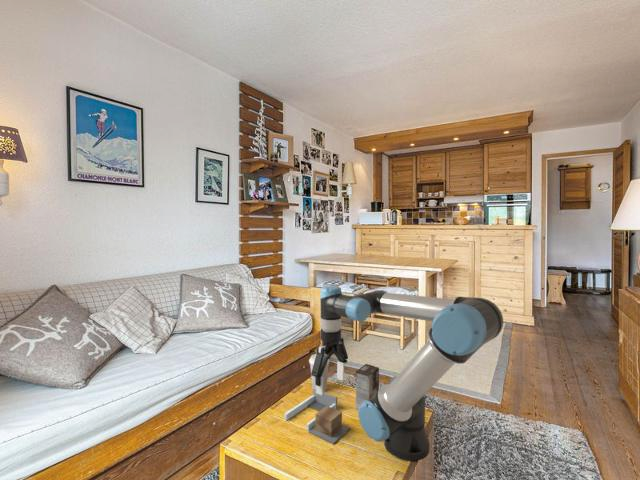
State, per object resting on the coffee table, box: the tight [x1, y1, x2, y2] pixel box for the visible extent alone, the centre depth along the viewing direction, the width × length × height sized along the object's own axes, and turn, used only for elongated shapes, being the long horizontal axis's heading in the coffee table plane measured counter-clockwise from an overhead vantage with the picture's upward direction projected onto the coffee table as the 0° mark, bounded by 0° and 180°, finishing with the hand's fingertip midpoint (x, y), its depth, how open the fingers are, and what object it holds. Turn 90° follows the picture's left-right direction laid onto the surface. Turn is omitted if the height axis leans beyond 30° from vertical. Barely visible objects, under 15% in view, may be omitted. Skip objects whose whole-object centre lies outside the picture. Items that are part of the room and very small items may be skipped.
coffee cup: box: [308, 353, 331, 392], centre depth 158 cm, size 10×10×15 cm
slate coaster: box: [308, 423, 351, 445], centre depth 126 cm, size 11×11×1 cm
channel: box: [283, 389, 338, 432], centre depth 137 cm, size 12×19×5 cm, turn 143°
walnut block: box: [315, 406, 343, 437], centre depth 126 cm, size 7×7×6 cm
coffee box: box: [355, 363, 380, 411], centre depth 143 cm, size 9×6×16 cm
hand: (330, 386), depth 125 cm, fingers open, 13 cm apart
